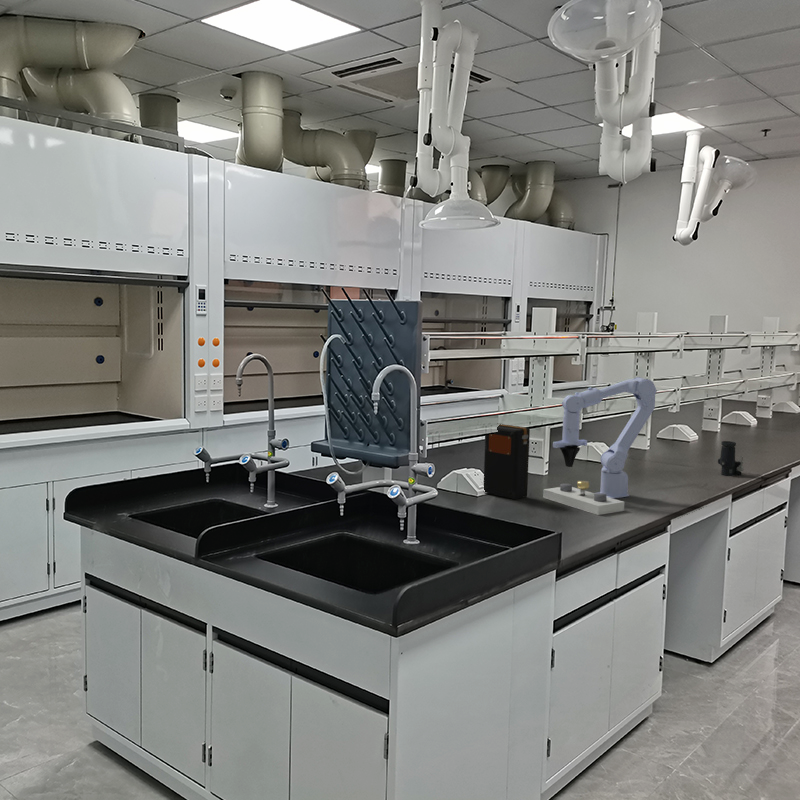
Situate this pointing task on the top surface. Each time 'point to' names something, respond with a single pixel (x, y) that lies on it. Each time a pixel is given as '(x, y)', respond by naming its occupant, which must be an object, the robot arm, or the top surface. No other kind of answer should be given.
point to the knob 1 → (566, 487)
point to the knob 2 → (600, 497)
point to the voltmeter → (507, 461)
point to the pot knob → (582, 486)
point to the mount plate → (583, 501)
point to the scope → (729, 460)
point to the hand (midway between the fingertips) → (569, 466)
